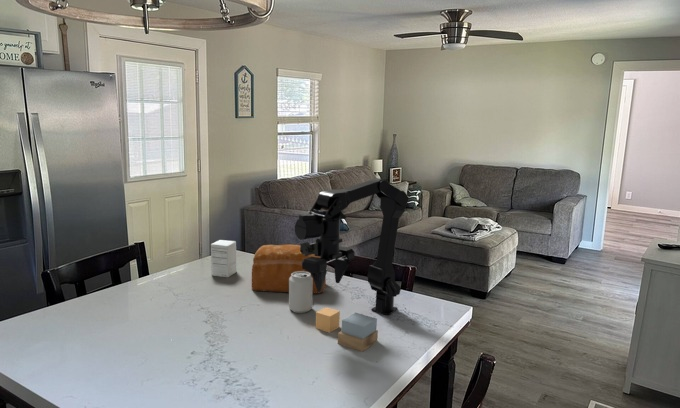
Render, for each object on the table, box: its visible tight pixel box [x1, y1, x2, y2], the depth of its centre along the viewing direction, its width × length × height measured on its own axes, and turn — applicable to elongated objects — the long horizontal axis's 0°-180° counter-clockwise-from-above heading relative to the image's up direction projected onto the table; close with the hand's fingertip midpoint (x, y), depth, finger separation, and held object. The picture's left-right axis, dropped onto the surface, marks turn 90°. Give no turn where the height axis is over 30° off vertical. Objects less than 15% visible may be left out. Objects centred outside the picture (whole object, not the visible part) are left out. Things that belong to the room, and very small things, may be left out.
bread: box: [251, 243, 327, 294], centre depth 180 cm, size 14×26×16 cm, turn 87°
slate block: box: [341, 312, 378, 339], centre depth 138 cm, size 7×7×4 cm
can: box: [288, 271, 313, 314], centre depth 160 cm, size 8×8×12 cm
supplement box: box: [210, 239, 238, 278], centre depth 193 cm, size 7×7×13 cm
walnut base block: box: [337, 329, 379, 352], centre depth 138 cm, size 8×8×4 cm
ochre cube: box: [315, 307, 341, 334], centre depth 147 cm, size 5×5×5 cm
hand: (328, 287), depth 145 cm, fingers open, 9 cm apart
